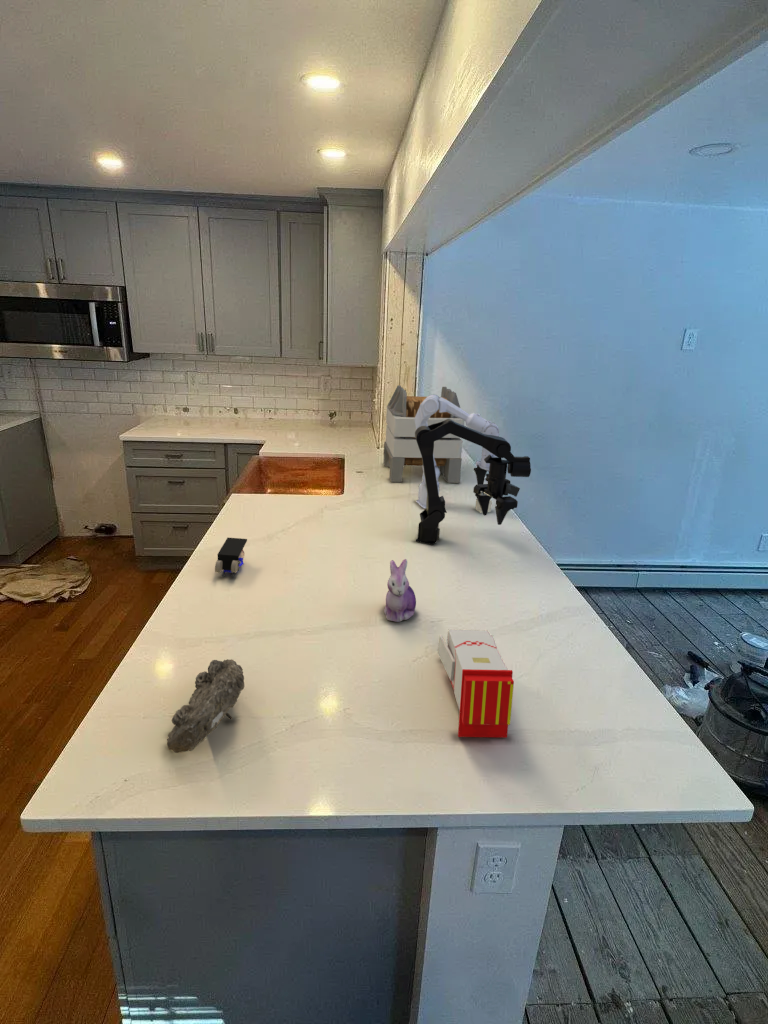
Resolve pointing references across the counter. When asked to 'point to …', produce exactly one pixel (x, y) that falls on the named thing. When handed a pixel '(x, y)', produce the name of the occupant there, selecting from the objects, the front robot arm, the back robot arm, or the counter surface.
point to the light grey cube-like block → (480, 507)
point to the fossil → (206, 705)
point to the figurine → (399, 594)
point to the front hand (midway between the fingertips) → (492, 519)
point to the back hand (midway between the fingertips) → (485, 488)
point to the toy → (478, 682)
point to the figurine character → (230, 556)
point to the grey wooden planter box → (403, 441)
